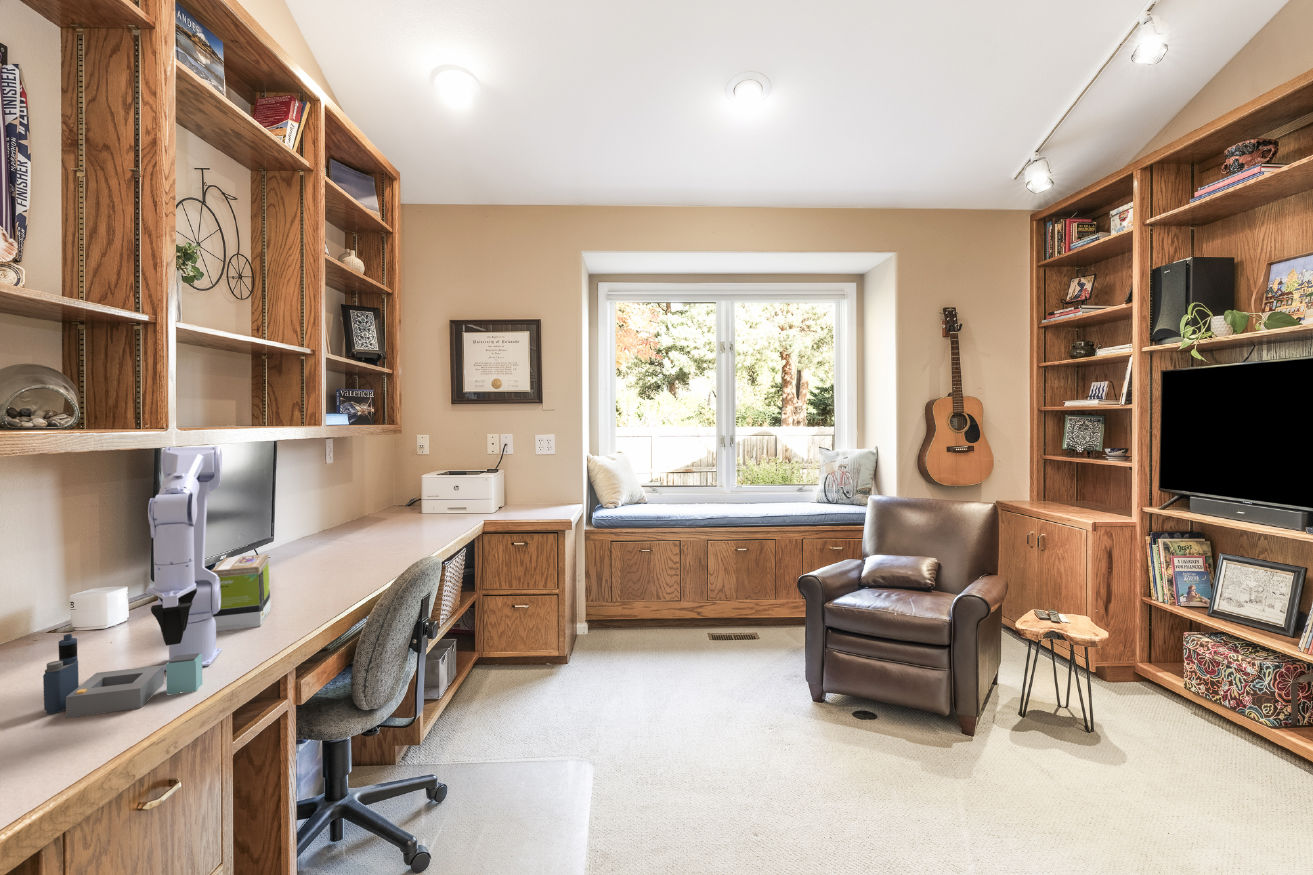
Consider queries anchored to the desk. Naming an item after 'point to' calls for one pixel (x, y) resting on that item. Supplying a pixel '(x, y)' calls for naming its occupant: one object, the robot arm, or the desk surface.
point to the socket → (115, 691)
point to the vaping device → (61, 676)
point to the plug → (184, 673)
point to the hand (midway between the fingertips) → (176, 637)
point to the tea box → (243, 592)
